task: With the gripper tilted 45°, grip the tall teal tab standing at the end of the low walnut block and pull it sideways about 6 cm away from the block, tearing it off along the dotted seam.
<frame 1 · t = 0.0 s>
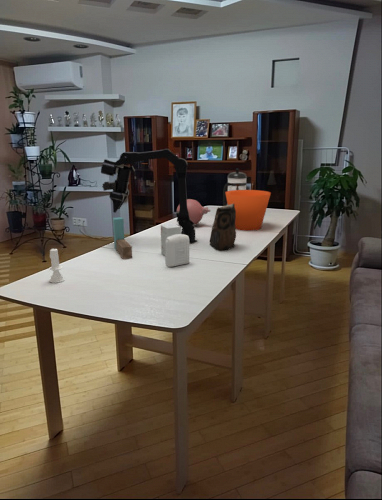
hand: (116, 210, 185), 15 cm above the table, tool pointing down, fingers open, 9 cm apart
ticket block: (119, 248, 177), on the table
balloon: (193, 226, 223), on the table
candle: (57, 280, 137), on the table
owl: (221, 247, 180), on the table
small box: (171, 255, 167), on the table
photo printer: (177, 264, 154), on the table
coffee press: (235, 214, 258), on the table
tear tab: (118, 233, 175), point 7 cm above the table, slide at 0.0 cm
flowerpot: (246, 227, 219), on the table
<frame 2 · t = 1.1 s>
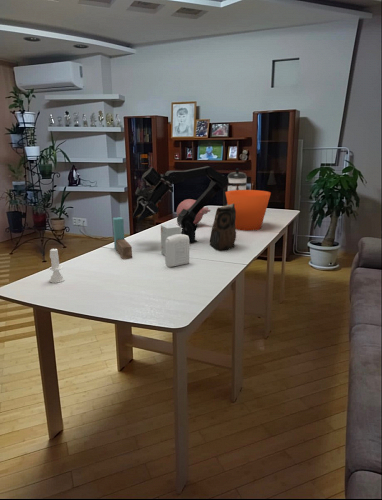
hand: (135, 218, 176), 14 cm above the table, tool tilted 45°, fingers open, 9 cm apart
nothing on the table moved.
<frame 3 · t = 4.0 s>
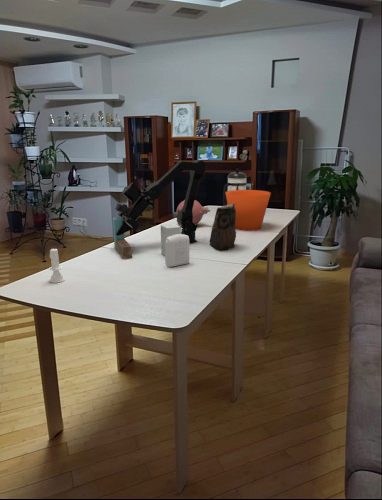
hand: (115, 234, 174), 7 cm above the table, tool tilted 45°, fingers closed on tear tab, 4 cm apart
tear tab: (118, 233, 175), point 7 cm above the table, slide at 0.0 cm, touching gripper
everything else where it was.
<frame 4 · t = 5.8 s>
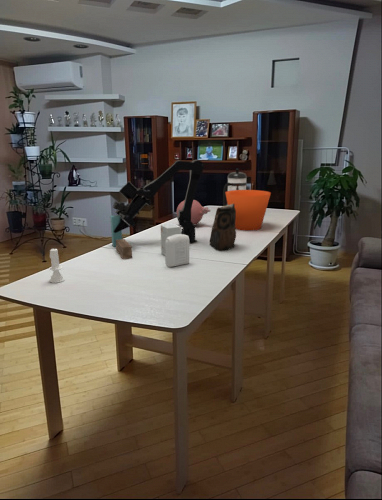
hand: (113, 231, 180), 7 cm above the table, tool tilted 45°, fingers closed on tear tab, 4 cm apart
tear tab: (116, 230, 180), point 7 cm above the table, slide at 5.8 cm, touching gripper
everything else where it was.
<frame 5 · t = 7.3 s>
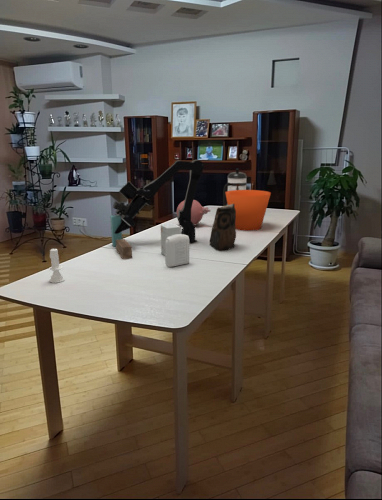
hand: (113, 231, 180), 7 cm above the table, tool tilted 45°, fingers open, 9 cm apart
tear tab: (116, 230, 180), point 7 cm above the table, slide at 5.9 cm
everything else where it was.
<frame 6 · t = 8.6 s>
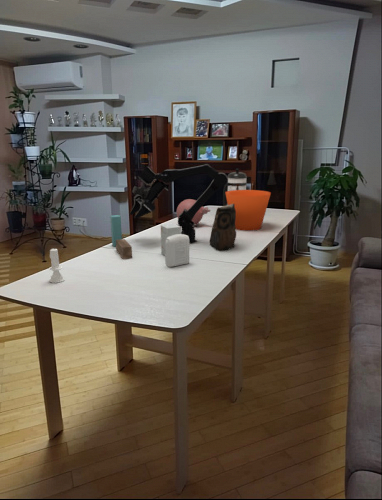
hand: (132, 216, 182), 13 cm above the table, tool tilted 45°, fingers open, 9 cm apart
nothing on the table moved.
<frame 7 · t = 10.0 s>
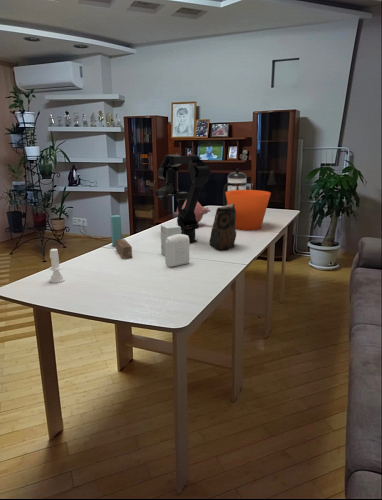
hand: (172, 211, 197), 13 cm above the table, tool pointing down, fingers open, 9 cm apart
nothing on the table moved.
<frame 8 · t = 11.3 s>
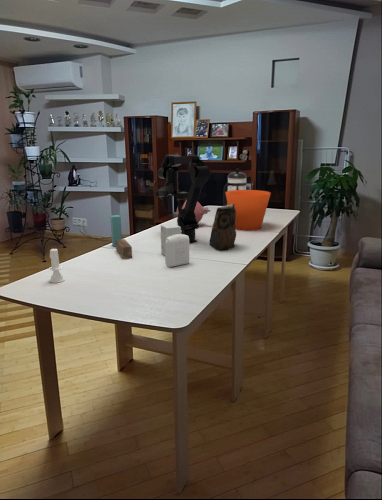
hand: (172, 211, 197), 13 cm above the table, tool pointing down, fingers open, 9 cm apart
nothing on the table moved.
at the end: tear tab slide at 5.9 cm; the gripper is holding nothing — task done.
